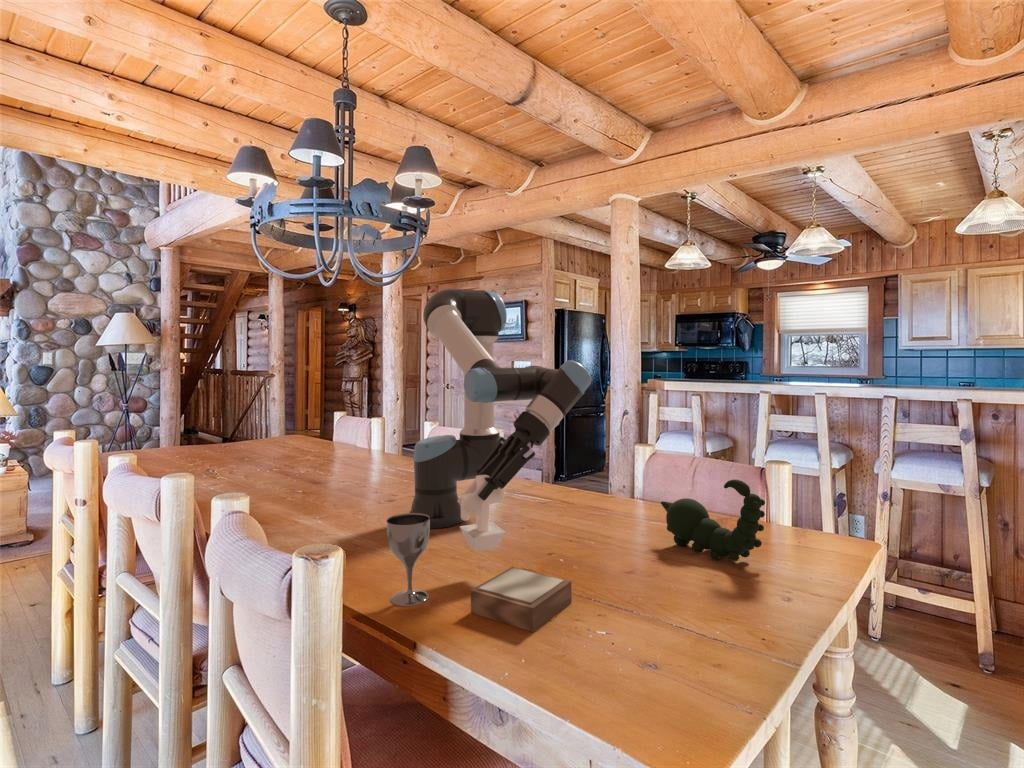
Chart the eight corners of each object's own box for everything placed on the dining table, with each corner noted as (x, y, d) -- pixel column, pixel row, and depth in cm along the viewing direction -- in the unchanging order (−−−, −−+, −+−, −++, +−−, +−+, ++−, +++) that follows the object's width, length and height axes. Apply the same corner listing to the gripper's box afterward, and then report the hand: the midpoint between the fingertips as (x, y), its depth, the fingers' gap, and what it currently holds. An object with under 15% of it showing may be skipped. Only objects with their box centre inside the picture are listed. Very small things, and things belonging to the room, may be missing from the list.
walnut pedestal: (471, 612, 96) (470, 588, 96) (512, 586, 106) (512, 565, 106) (533, 632, 88) (533, 606, 88) (571, 602, 99) (571, 579, 99)
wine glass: (412, 585, 108) (410, 510, 107) (440, 596, 103) (438, 517, 102) (379, 599, 102) (377, 520, 101) (407, 611, 97) (405, 527, 96)
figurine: (454, 544, 114) (454, 473, 112) (494, 537, 118) (495, 469, 117) (468, 556, 107) (469, 482, 106) (510, 548, 112) (511, 476, 110)
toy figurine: (767, 571, 117) (671, 531, 138) (775, 483, 115) (676, 456, 136) (741, 581, 112) (645, 538, 132) (749, 490, 109) (650, 461, 130)
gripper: (567, 438, 110) (492, 530, 104) (531, 428, 125) (463, 509, 118) (544, 413, 108) (466, 506, 102) (510, 406, 122) (440, 487, 116)
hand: (465, 507), depth 110 cm, fingers closed on figurine, 3 cm apart
